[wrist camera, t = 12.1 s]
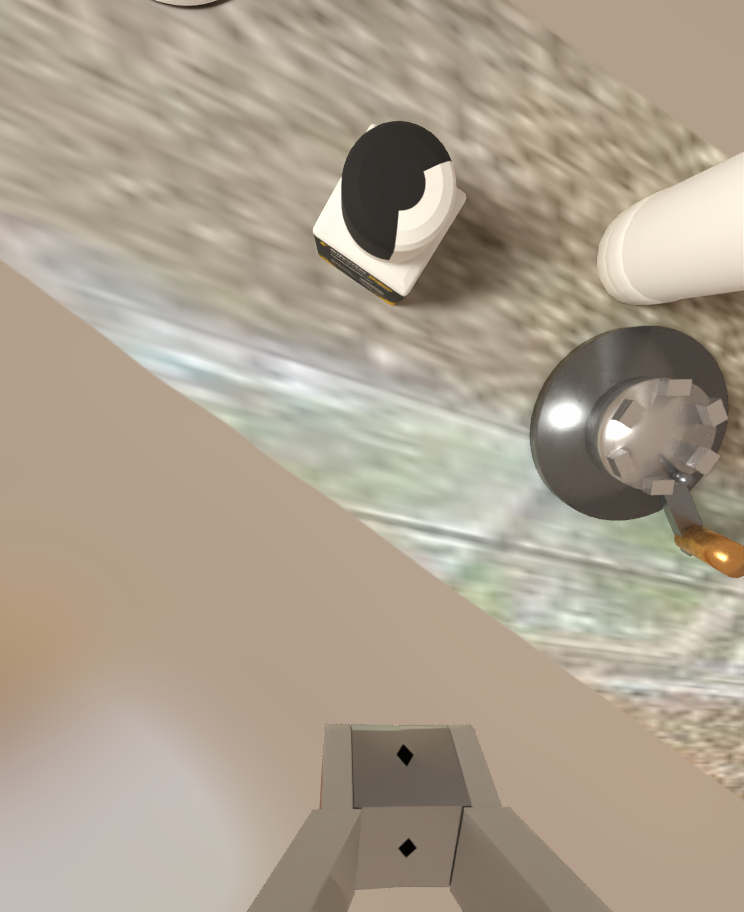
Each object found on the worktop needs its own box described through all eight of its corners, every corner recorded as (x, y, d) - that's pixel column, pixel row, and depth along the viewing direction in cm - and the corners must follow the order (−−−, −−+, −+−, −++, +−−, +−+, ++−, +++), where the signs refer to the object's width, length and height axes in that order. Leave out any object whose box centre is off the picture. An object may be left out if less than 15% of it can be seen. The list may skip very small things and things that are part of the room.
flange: (548, 318, 35) (558, 316, 34) (736, 335, 37) (755, 335, 35) (515, 509, 39) (523, 516, 38) (685, 518, 41) (700, 525, 39)
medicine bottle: (316, 255, 33) (303, 205, 21) (365, 168, 32) (379, 64, 20) (393, 307, 34) (420, 287, 23) (443, 226, 33) (498, 160, 21)
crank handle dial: (568, 411, 36) (614, 424, 30) (665, 355, 35) (732, 357, 29) (639, 564, 40) (692, 603, 34) (727, 516, 39) (796, 547, 33)
